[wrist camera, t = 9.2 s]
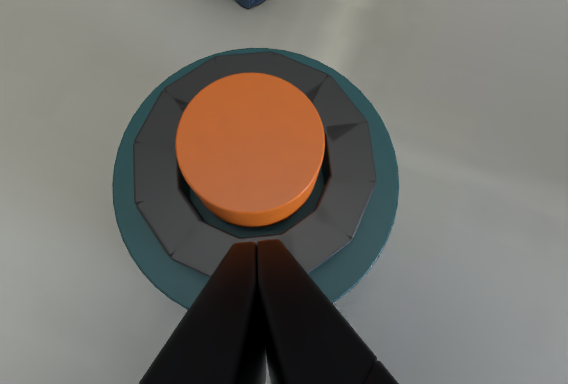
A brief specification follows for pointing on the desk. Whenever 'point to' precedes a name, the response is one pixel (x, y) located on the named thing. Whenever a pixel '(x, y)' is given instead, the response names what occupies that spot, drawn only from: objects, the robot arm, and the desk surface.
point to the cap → (297, 239)
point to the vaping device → (249, 2)
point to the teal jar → (328, 276)
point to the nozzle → (251, 148)
